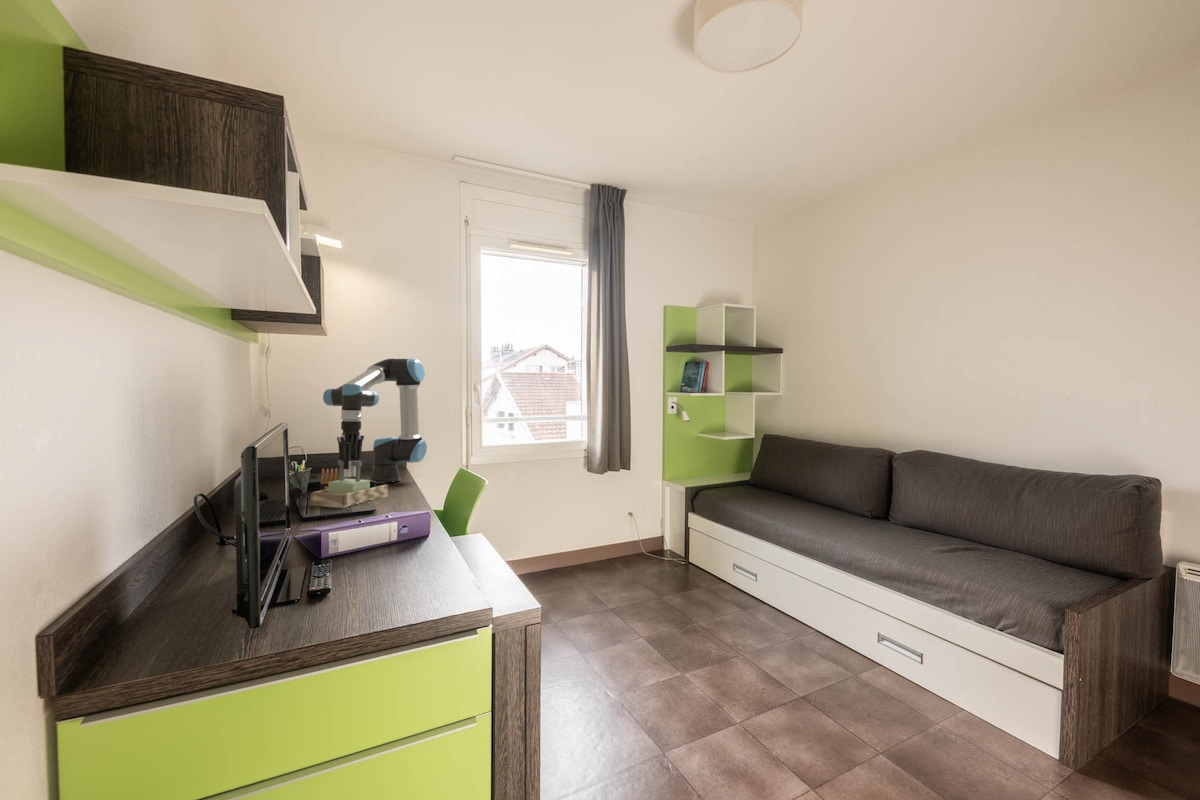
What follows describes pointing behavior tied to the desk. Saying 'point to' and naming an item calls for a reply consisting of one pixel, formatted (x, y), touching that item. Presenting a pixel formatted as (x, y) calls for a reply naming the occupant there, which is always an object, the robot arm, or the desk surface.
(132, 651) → the desk surface
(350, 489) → the green panel with handle
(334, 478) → the ammunition clip
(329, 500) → the bay
